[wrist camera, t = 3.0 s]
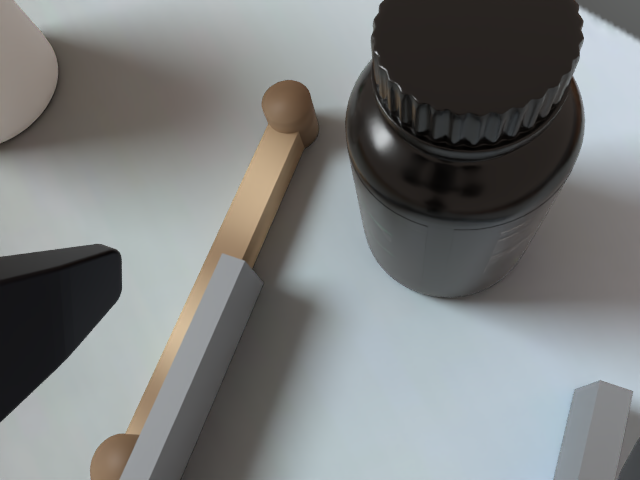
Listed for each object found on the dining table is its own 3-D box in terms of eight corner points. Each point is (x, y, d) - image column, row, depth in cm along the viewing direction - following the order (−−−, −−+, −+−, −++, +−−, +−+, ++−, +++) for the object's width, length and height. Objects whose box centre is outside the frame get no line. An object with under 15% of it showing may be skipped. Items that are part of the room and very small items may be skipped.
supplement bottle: (511, 145, 25) (595, -105, 14) (541, 293, 22) (674, 136, 11) (358, 163, 25) (320, -58, 14) (371, 308, 23) (336, 175, 12)
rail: (159, 504, 21) (130, 510, 19) (112, 481, 22) (79, 484, 20) (325, 116, 27) (317, 86, 24) (284, 106, 27) (273, 75, 25)
